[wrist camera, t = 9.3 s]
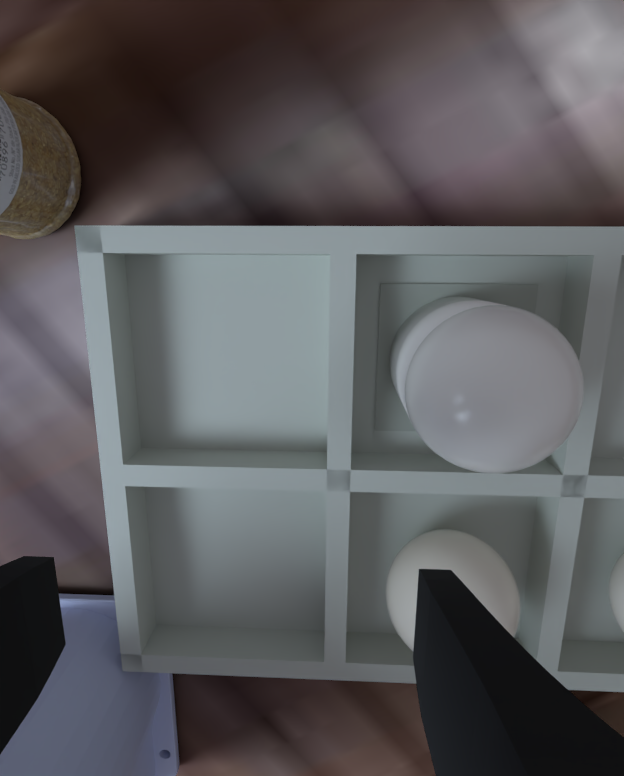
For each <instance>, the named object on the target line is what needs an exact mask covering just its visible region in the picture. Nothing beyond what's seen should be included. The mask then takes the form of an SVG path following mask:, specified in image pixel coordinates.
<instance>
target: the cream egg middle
mask: <svg viewBox="0 0 624 776" xmlns="http://www.w3.org/2000/svg"><path fill="white" fill-rule="evenodd" d="M419 569H442V570H452V571H453V572H454V574H455V575H456V576H457V577H458V578H459V579H460V580H461V581H462V582H463V583H464V584H465V586H466V587H467V588H468V589H469V590H470V591H471V592H472V593H473V594H474V595H475V597H476V598H477V599H478V600H479V601H480V602H481V603H482V604H483V605H484V606H485V608H486V609H487V610H488V611H489V612H490V613H491V614H492V615H493V616H494V617H495V618H496V620H497V621H498V622H499V623H500V624H501V625H502V626H503V627H504V628H505V629H506V630H507V631H508V632H509V633H510V634H511V635H512V636H513V637H514V636H515V634H516V631H517V628H518V624H519V619H520V596H519V591H518V588H517V584H516V581H515V579H514V576H513V574H512V572H511V570H510V568H509V567H508V565H507V564H506V562H505V561H504V559H503V558H502V557H501V556H500V555H499V553H498V552H497V551H495V550H494V549H493V548H492V547H491V546H490V545H489V544H487V543H486V542H484V541H483V540H481V539H479V538H478V537H476V536H474V535H472V534H469V533H466V532H462V531H458V530H451V529H439V530H433V531H429V532H426V533H423V534H421V535H418V536H417V537H415V538H413V539H412V540H410V541H409V542H408V543H407V544H406V545H404V546H403V548H402V549H401V550H400V551H399V552H398V554H397V555H396V557H395V558H394V560H393V562H392V564H391V567H390V569H389V572H388V576H387V582H386V603H387V608H388V612H389V616H390V619H391V621H392V623H393V626H394V628H395V629H396V631H397V633H398V635H399V636H400V637H401V639H402V640H403V642H404V643H405V644H406V645H407V646H408V647H409V648H410V649H411V650H412V651H413V649H414V634H415V620H416V605H417V590H418V575H419Z"/></svg>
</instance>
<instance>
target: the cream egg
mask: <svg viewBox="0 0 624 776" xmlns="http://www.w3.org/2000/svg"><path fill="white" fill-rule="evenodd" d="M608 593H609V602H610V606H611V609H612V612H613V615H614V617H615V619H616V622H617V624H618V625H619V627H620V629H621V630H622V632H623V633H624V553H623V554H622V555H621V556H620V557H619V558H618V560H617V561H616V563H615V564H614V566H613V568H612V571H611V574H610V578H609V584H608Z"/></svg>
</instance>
